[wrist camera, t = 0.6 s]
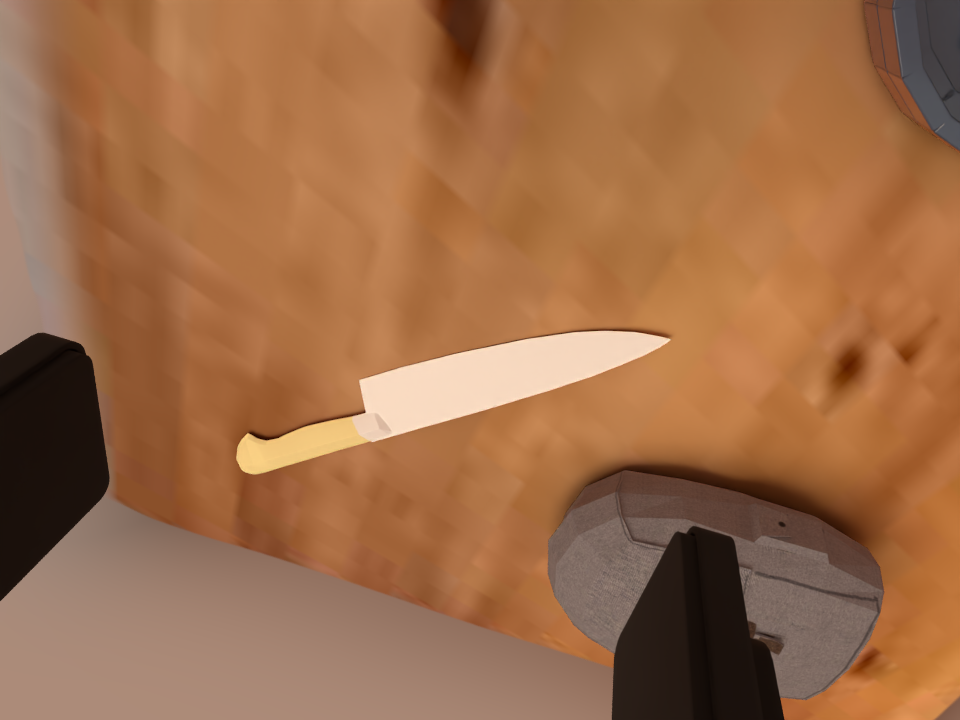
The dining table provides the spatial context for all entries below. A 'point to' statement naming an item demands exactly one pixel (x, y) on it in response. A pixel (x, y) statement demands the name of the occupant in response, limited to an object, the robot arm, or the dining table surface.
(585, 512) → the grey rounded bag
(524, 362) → the knife
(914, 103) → the bowl
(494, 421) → the dining table surface
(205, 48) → the dining table surface
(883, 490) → the dining table surface
